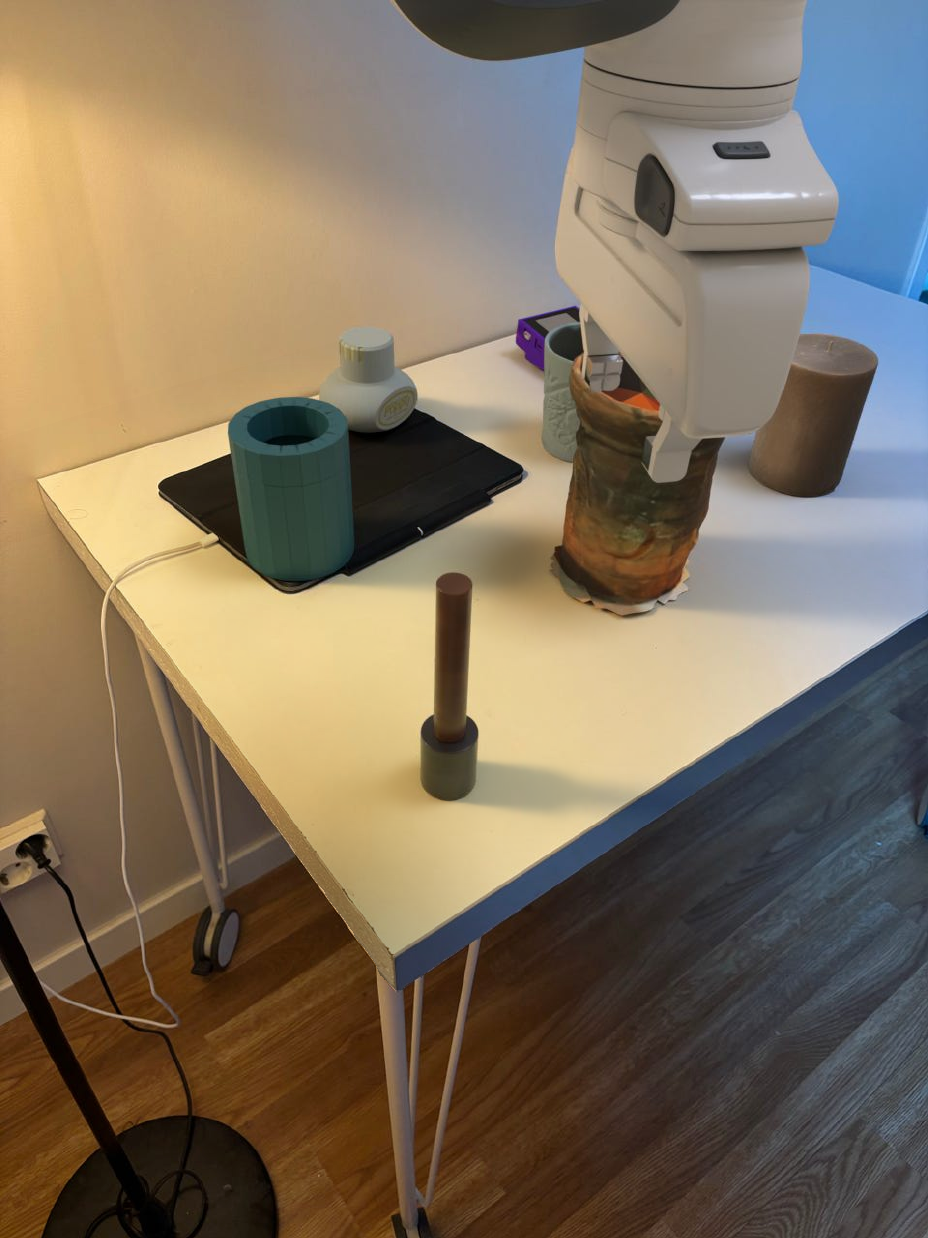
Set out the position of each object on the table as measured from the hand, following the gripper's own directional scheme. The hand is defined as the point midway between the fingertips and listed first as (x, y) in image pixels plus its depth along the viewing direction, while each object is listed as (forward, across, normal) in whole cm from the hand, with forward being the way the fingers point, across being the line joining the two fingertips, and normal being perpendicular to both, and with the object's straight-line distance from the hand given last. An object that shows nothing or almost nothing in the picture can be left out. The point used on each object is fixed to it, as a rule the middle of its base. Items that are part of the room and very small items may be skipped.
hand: (628, 427), depth 50 cm
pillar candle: (+29, -36, +37) cm, 59 cm away
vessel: (+29, -23, +13) cm, 39 cm away
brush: (+29, -2, -8) cm, 30 cm away
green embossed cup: (+29, -46, +16) cm, 56 cm away
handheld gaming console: (+29, -63, +21) cm, 73 cm away
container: (+29, -32, -16) cm, 46 cm away
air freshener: (+29, -55, -6) cm, 62 cm away
